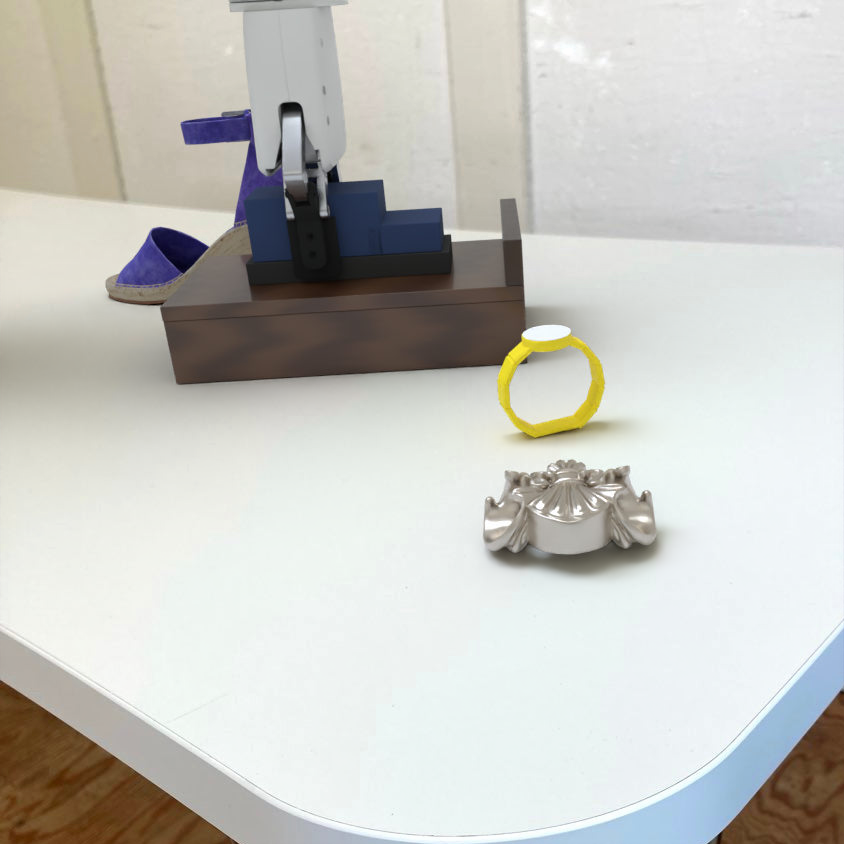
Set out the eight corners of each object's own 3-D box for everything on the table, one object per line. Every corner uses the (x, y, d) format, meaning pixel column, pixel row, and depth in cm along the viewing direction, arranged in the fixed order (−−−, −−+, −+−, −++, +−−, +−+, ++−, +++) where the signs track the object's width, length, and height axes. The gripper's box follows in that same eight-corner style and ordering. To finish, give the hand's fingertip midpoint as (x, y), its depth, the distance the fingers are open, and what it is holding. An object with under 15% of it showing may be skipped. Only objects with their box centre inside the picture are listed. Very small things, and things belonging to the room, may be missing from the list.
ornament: (648, 501, 53) (648, 433, 51) (662, 570, 47) (663, 496, 45) (487, 507, 53) (482, 440, 51) (481, 577, 47) (475, 504, 45)
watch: (594, 414, 63) (592, 317, 61) (610, 431, 61) (609, 331, 58) (497, 429, 62) (490, 331, 59) (509, 447, 60) (503, 345, 57)
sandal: (155, 276, 100) (120, 107, 93) (329, 291, 92) (305, 107, 85) (90, 299, 94) (47, 119, 87) (271, 318, 85) (239, 121, 79)
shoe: (249, 285, 74) (234, 201, 71) (263, 266, 78) (250, 186, 76) (450, 273, 73) (443, 188, 71) (452, 254, 78) (446, 174, 76)
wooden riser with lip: (175, 384, 72) (149, 261, 68) (220, 324, 85) (201, 217, 81) (528, 363, 72) (521, 239, 68) (521, 305, 85) (515, 198, 81)
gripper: (253, -15, 75) (291, 241, 83) (195, -11, 60) (249, 302, 68) (359, -22, 75) (387, 235, 83) (327, -20, 60) (366, 295, 68)
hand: (324, 263), depth 76 cm, fingers open, 5 cm apart
